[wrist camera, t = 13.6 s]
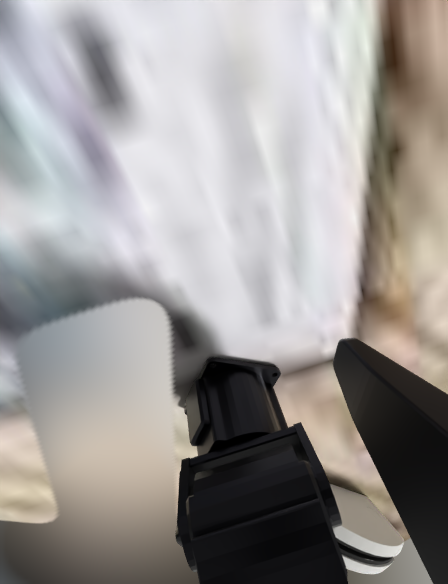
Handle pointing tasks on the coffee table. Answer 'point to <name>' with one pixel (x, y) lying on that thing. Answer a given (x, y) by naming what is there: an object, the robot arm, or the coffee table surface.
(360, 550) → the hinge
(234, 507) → the robot arm
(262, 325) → the coffee table surface
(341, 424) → the coffee table surface
